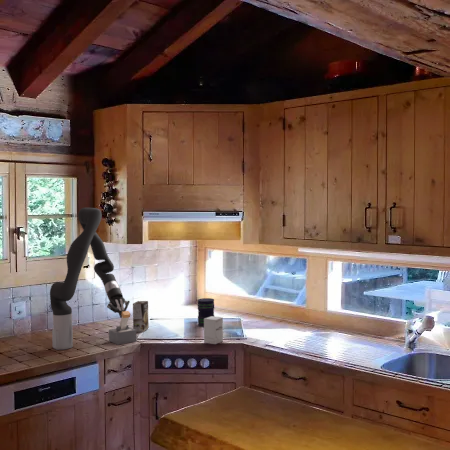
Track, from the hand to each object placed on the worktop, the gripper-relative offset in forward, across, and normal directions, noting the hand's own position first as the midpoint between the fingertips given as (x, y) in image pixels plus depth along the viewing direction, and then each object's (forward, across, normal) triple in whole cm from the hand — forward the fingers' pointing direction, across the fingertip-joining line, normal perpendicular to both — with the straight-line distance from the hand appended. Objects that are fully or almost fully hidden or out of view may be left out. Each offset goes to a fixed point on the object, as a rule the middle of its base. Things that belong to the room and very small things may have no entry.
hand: (123, 317), depth 291 cm
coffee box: (-3, +19, +22) cm, 29 cm away
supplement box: (+30, +36, -13) cm, 49 cm away
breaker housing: (+8, 0, +10) cm, 13 cm away
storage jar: (+6, +55, +12) cm, 57 cm away
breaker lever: (+3, 0, +5) cm, 6 cm away
